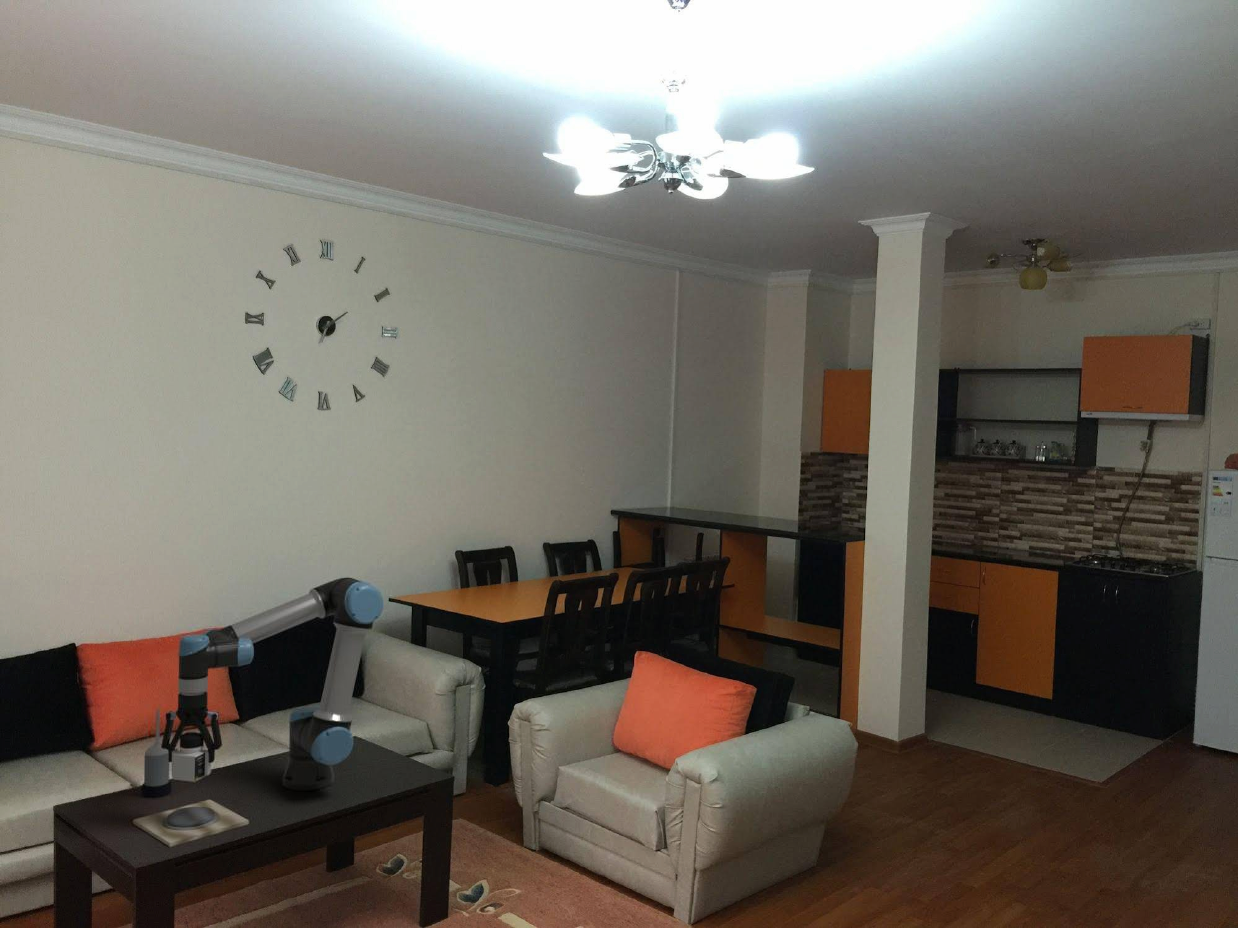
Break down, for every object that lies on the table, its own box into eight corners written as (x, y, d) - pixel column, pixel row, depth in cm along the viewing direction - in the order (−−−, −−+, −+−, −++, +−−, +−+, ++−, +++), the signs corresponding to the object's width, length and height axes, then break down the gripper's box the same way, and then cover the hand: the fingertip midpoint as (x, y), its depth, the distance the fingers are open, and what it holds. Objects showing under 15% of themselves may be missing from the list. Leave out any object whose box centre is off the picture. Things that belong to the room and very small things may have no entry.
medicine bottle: (194, 782, 279) (195, 738, 278) (171, 779, 280) (172, 735, 280) (210, 773, 286) (211, 730, 285) (187, 771, 287) (188, 728, 286)
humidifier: (174, 787, 310) (175, 705, 309) (168, 797, 302) (169, 713, 301) (145, 788, 308) (146, 706, 307) (138, 798, 300) (139, 714, 299)
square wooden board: (210, 802, 299) (210, 794, 299) (248, 823, 284) (248, 814, 284) (133, 823, 282) (133, 814, 282) (169, 846, 268) (170, 837, 268)
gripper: (236, 689, 286) (234, 769, 287) (159, 687, 285) (157, 768, 286) (227, 696, 279) (225, 778, 280) (148, 694, 278) (146, 777, 278)
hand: (191, 773), depth 283 cm, fingers closed on medicine bottle, 8 cm apart
